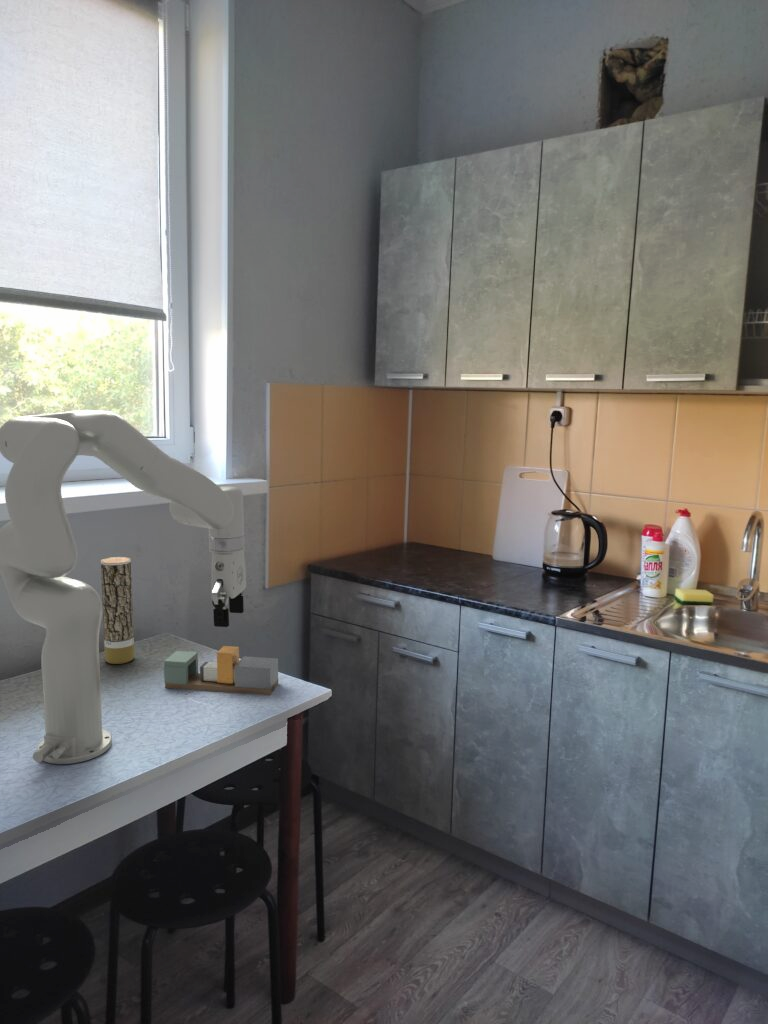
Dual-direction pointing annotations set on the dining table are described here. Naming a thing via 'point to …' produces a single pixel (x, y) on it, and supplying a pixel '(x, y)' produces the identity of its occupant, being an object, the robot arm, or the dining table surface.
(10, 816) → the dining table surface
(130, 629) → the brown bark cylinder
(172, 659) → the socket
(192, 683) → the board
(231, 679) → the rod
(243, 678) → the sleeve
